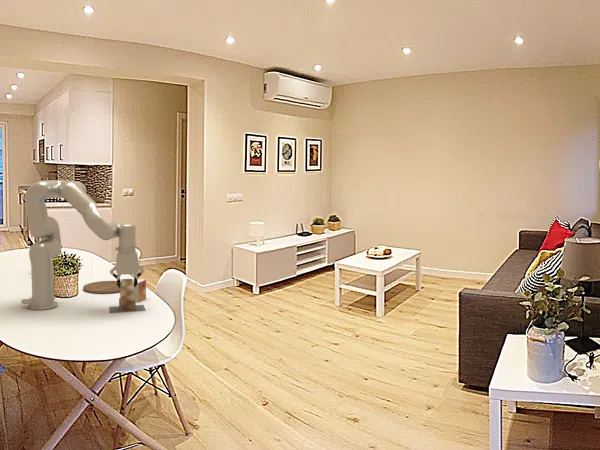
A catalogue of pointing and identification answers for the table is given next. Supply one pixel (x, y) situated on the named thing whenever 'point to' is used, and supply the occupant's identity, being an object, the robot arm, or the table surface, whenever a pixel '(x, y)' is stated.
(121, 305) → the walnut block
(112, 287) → the trivet
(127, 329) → the table surface
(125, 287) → the maple cube
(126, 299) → the oak block
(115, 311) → the slate mat
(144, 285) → the small box
